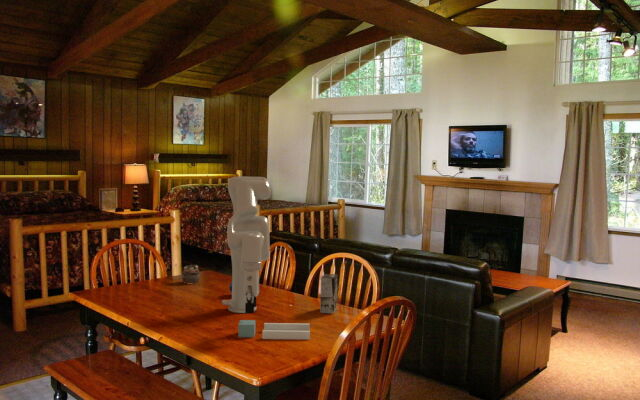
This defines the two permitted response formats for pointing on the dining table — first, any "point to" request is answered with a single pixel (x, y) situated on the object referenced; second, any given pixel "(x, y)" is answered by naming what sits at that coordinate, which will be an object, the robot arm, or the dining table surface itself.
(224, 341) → the dining table surface
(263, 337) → the trough
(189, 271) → the cupcake
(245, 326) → the block
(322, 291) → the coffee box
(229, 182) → the robot arm
